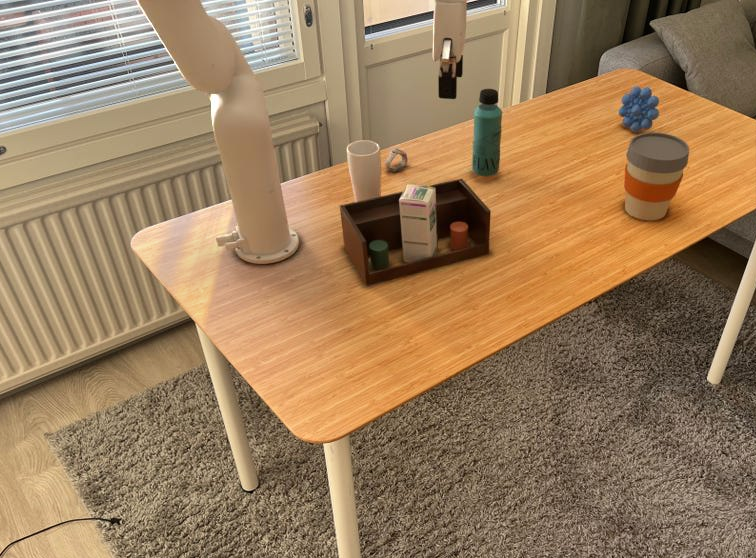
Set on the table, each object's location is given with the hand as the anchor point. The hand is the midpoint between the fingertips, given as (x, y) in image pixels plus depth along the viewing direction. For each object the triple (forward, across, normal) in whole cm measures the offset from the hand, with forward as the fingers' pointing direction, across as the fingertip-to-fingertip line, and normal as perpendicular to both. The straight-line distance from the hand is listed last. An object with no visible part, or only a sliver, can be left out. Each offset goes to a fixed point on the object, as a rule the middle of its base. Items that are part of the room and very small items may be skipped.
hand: (450, 86), depth 131 cm
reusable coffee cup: (+29, -10, +42) cm, 52 cm away
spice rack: (+29, +12, -6) cm, 32 cm away
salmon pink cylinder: (+29, +9, +3) cm, 31 cm away
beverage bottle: (+29, -20, +6) cm, 36 cm away
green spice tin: (+29, +18, -12) cm, 36 cm away
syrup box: (+29, +13, -4) cm, 32 cm away
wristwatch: (+29, -20, -15) cm, 39 cm away
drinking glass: (+29, -1, -18) cm, 34 cm away
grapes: (+29, -48, +43) cm, 71 cm away
